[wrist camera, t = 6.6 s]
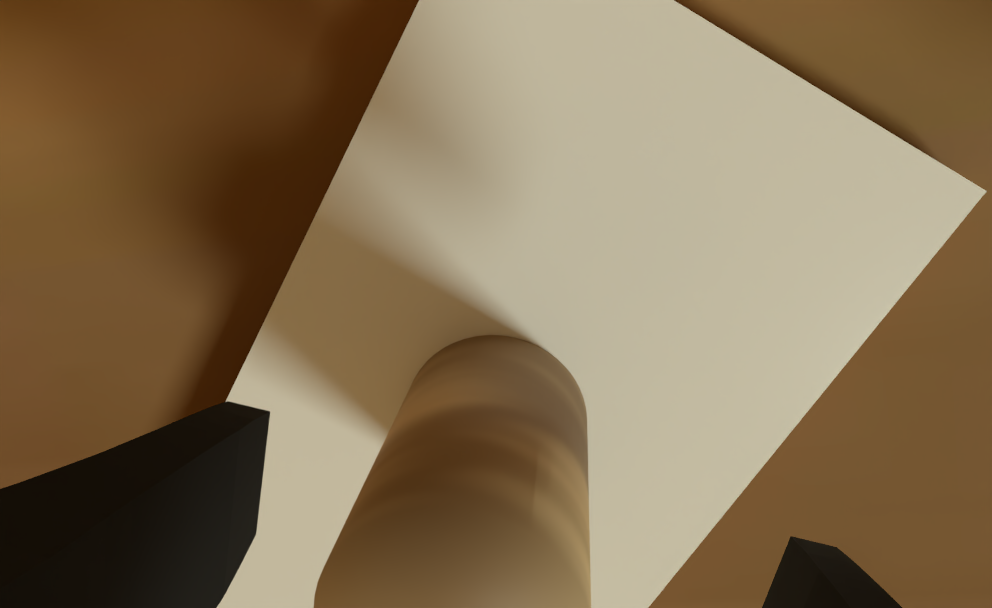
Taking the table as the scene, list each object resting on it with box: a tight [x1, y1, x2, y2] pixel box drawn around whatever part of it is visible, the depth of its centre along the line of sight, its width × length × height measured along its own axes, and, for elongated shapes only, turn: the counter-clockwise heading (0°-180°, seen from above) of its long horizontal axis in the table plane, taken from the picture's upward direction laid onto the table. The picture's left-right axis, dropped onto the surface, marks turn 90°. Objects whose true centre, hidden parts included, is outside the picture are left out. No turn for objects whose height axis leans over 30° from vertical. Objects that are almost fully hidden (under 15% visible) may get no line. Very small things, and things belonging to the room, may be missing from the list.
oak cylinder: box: [314, 335, 591, 608], centre depth 15 cm, size 4×4×7 cm
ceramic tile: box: [217, 0, 986, 608], centre depth 19 cm, size 12×20×2 cm, turn 151°
